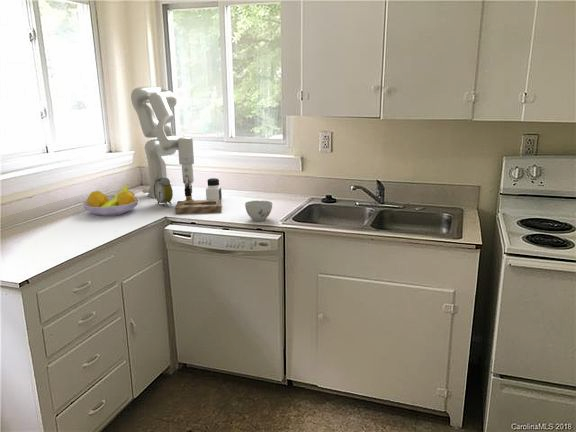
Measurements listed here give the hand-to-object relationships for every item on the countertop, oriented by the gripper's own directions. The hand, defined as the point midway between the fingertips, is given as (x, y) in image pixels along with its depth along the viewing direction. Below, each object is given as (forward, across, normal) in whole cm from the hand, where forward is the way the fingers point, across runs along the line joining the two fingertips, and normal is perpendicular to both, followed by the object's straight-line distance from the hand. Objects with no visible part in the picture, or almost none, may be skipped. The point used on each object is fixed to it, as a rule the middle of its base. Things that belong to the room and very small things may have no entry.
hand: (188, 194), depth 252 cm
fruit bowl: (+5, -12, +36) cm, 38 cm away
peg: (+5, 0, 0) cm, 5 cm away
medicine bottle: (+5, +4, -13) cm, 15 cm away
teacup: (+5, -37, -34) cm, 51 cm away
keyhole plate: (+5, -15, -6) cm, 17 cm away
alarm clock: (+5, -2, +12) cm, 13 cm away
